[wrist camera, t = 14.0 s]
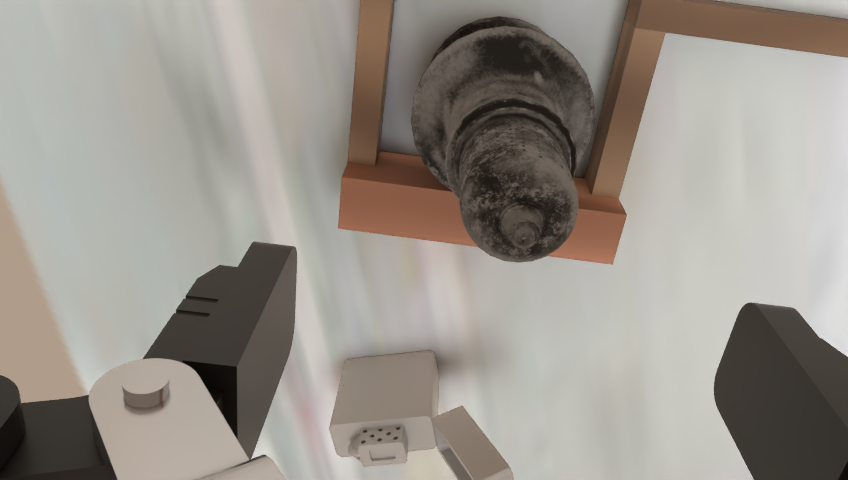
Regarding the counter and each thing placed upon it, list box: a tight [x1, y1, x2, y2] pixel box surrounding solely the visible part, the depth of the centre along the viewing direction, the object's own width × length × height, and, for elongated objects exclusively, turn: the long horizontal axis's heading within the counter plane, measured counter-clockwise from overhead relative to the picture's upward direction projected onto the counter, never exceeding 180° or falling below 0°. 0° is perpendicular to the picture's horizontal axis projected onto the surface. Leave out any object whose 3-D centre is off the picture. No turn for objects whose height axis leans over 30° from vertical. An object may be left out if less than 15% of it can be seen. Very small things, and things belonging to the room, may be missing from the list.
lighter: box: [329, 350, 514, 480], centre depth 28 cm, size 7×2×8 cm, turn 99°
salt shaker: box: [411, 17, 595, 262], centre depth 20 cm, size 6×6×12 cm
